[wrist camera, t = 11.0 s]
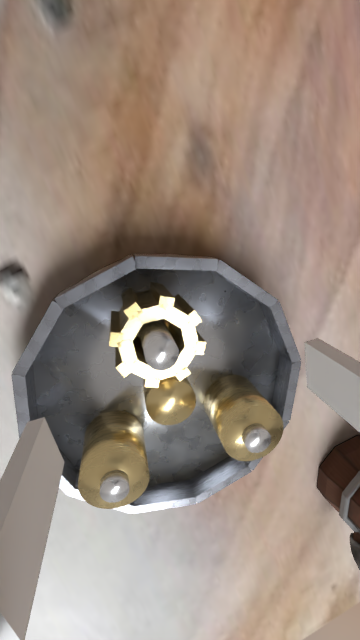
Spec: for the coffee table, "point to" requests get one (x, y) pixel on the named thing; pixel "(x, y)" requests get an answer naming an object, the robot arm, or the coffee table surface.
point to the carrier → (170, 397)
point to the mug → (344, 487)
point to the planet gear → (146, 310)
